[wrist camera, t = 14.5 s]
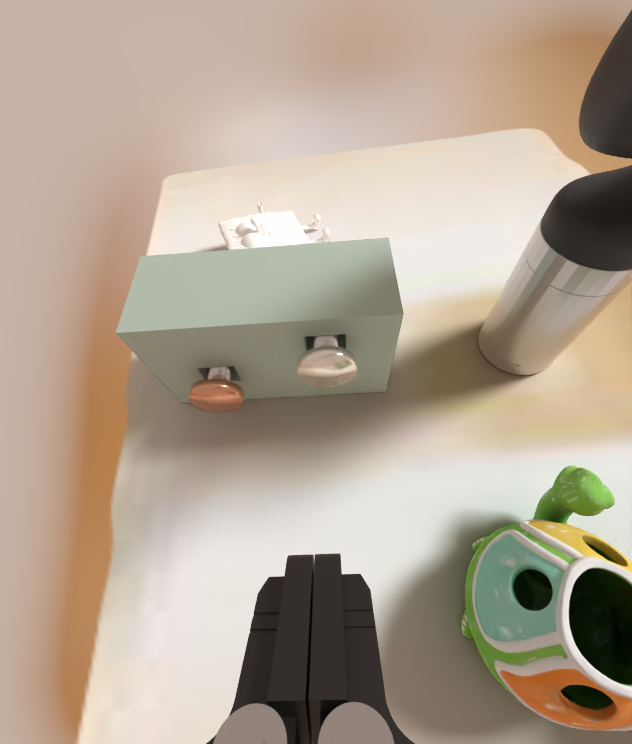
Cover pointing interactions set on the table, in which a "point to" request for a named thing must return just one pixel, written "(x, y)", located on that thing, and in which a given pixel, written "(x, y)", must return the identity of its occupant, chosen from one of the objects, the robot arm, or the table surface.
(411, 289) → the table surface
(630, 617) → the turtle holder
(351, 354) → the plunger cream
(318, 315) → the console
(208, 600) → the table surface
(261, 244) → the cartoon character
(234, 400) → the plunger terracotta
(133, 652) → the table surface
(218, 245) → the table surface
